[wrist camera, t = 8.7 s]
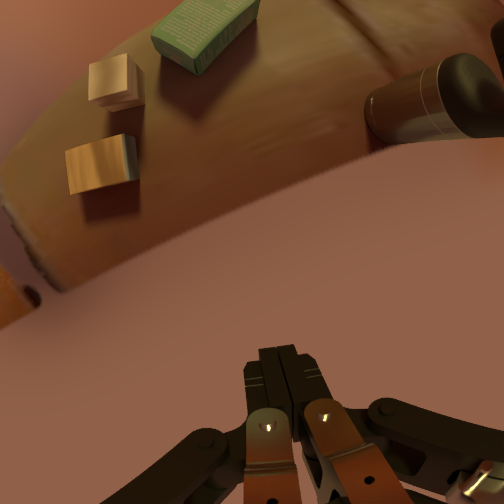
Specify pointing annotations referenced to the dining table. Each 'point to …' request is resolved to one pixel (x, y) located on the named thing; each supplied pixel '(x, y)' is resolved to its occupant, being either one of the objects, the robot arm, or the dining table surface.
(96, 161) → the oak pillar
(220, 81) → the dining table surface
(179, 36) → the box
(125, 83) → the birch pillar
